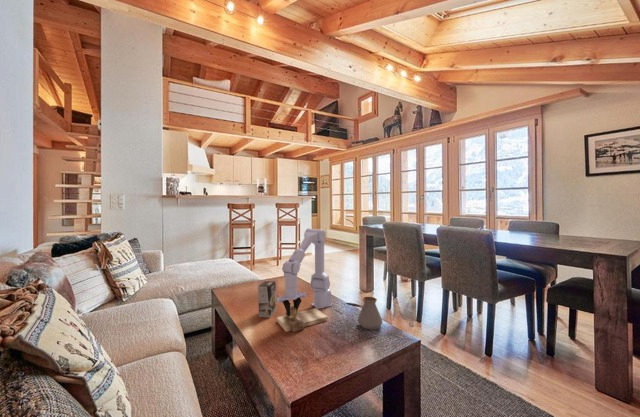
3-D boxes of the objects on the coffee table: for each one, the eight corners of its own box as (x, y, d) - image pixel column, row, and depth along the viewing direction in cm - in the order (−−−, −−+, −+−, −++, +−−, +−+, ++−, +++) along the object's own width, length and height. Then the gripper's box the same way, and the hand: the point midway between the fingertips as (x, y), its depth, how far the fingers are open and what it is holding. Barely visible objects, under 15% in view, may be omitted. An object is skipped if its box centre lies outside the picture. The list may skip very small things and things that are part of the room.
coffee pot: (368, 318, 134) (368, 288, 133) (387, 326, 125) (387, 295, 125) (336, 332, 121) (336, 299, 120) (355, 342, 112) (355, 307, 111)
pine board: (316, 311, 143) (316, 307, 143) (327, 320, 132) (327, 316, 132) (276, 321, 132) (276, 317, 132) (286, 331, 122) (286, 327, 122)
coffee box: (270, 318, 136) (269, 286, 136) (258, 317, 137) (257, 285, 137) (276, 310, 145) (276, 281, 144) (265, 309, 146) (264, 280, 146)
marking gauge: (291, 318, 135) (291, 302, 135) (303, 329, 123) (303, 312, 123) (282, 320, 133) (282, 305, 132) (293, 332, 121) (293, 315, 121)
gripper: (279, 291, 121) (280, 321, 121) (308, 286, 128) (309, 314, 128) (274, 287, 127) (275, 315, 127) (302, 282, 134) (302, 309, 135)
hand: (291, 314), depth 128 cm, fingers closed on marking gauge, 3 cm apart
